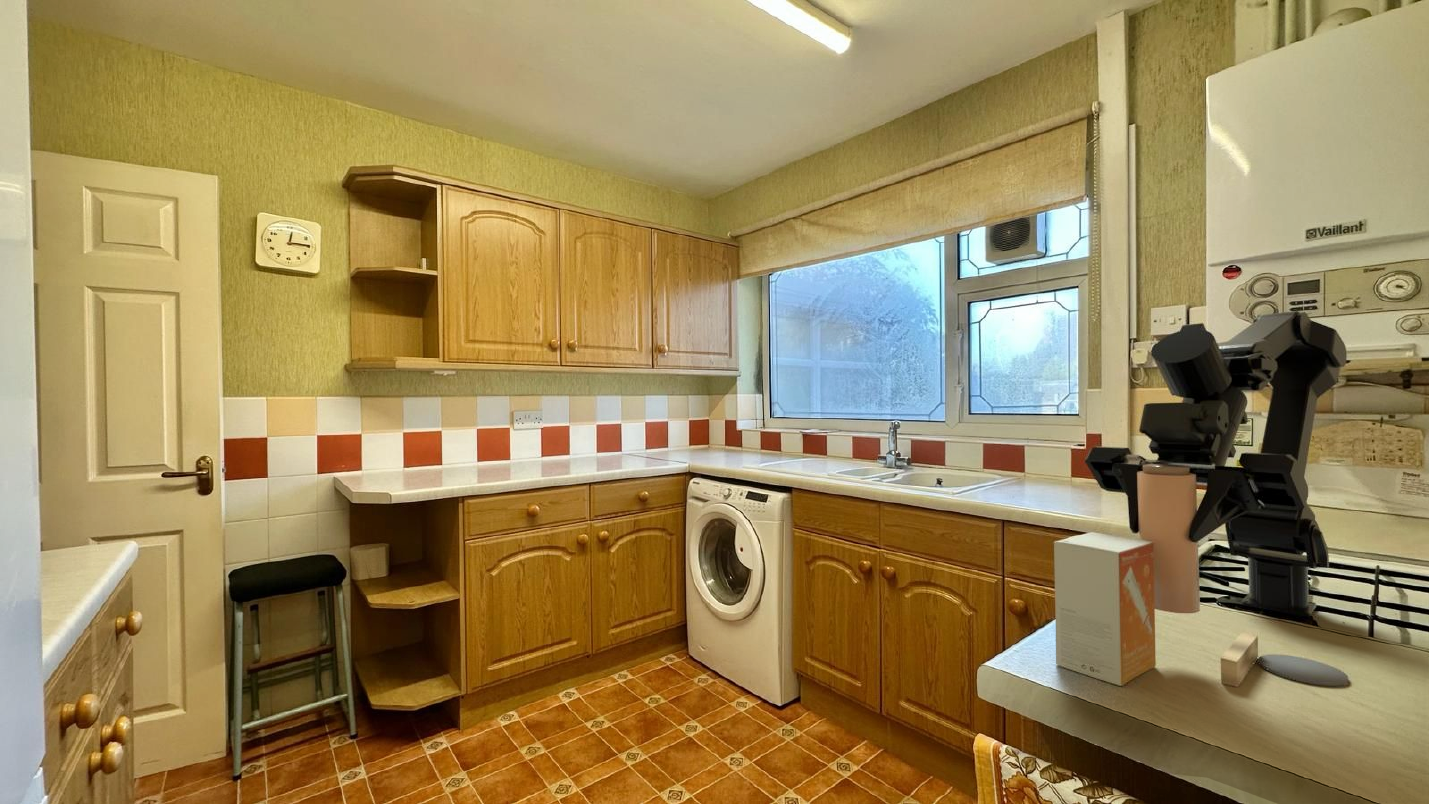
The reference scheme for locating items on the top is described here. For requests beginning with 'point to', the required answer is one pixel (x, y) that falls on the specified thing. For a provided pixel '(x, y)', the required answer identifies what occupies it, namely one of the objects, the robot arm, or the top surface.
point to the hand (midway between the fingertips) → (1161, 535)
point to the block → (1239, 659)
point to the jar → (1170, 534)
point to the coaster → (1303, 670)
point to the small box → (1105, 606)
